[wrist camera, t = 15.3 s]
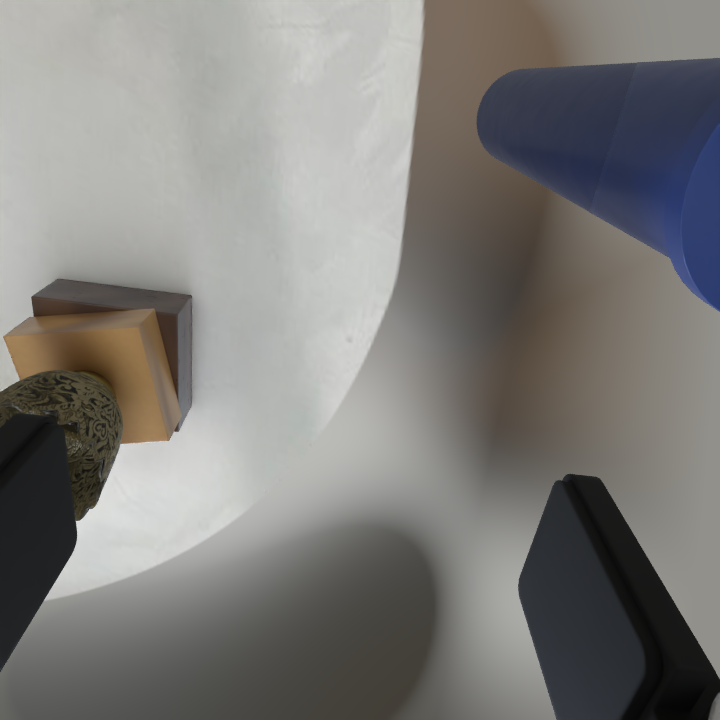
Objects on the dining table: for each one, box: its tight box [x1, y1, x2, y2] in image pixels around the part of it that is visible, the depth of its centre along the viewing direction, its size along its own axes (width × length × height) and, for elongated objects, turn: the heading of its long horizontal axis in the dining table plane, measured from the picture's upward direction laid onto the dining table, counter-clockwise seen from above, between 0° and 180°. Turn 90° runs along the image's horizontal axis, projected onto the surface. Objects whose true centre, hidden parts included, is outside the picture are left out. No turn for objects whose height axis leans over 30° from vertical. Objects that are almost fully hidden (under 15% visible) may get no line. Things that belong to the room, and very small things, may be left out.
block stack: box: [3, 279, 192, 444], centre depth 37 cm, size 10×10×6 cm
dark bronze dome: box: [0, 370, 123, 521], centre depth 31 cm, size 8×7×8 cm
